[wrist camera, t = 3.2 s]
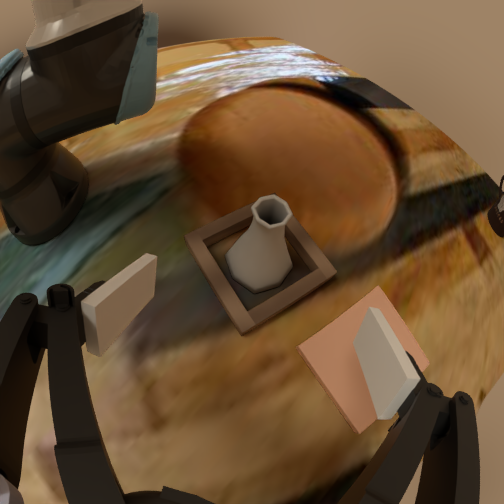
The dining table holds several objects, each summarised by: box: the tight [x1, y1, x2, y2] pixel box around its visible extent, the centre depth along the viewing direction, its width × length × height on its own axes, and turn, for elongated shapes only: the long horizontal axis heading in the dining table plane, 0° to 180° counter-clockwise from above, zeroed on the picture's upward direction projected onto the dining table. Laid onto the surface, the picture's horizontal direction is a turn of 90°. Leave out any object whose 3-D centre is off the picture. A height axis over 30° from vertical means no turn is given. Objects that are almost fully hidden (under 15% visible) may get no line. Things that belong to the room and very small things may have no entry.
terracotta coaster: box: [295, 285, 430, 434], centre depth 26 cm, size 12×12×1 cm
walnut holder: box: [184, 193, 337, 336], centre depth 30 cm, size 12×12×2 cm
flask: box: [225, 194, 293, 294], centre depth 26 cm, size 7×7×10 cm
